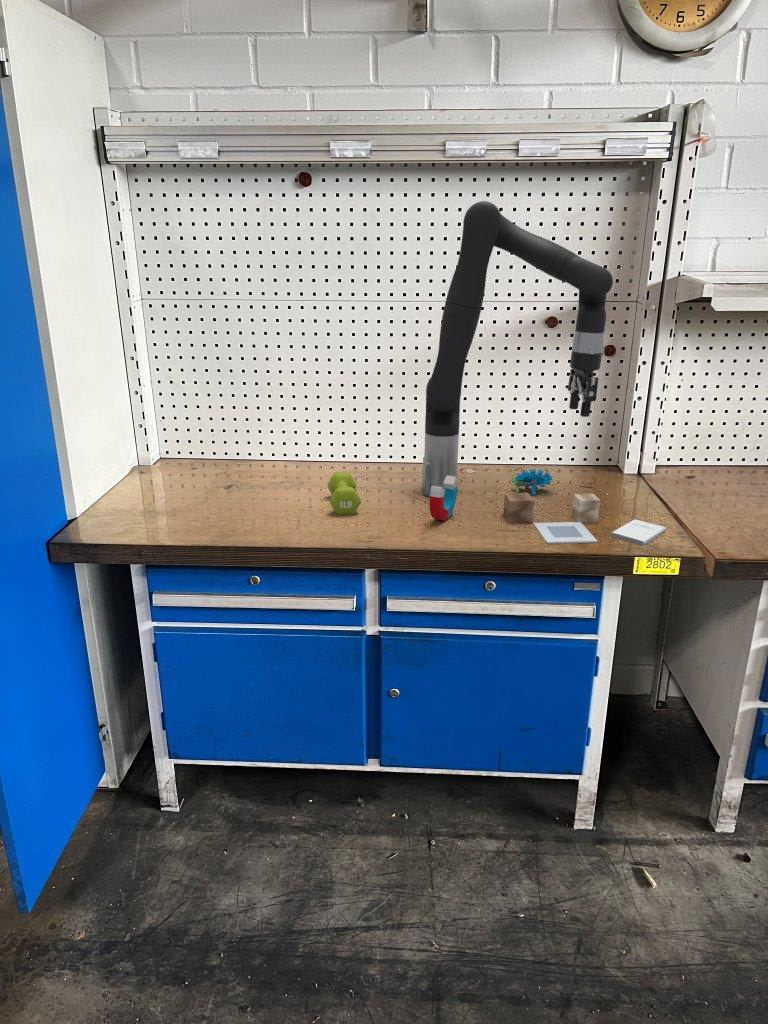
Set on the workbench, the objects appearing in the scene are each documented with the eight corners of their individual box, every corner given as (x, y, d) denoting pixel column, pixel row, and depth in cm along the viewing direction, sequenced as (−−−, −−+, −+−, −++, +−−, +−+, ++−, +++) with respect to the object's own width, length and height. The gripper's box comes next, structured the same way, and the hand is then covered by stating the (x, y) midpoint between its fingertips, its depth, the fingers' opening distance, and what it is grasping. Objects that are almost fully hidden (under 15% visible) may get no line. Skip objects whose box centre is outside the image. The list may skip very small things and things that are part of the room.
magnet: (446, 510, 181) (448, 474, 178) (456, 512, 180) (458, 475, 177) (428, 525, 172) (429, 487, 168) (438, 527, 170) (440, 488, 167)
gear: (553, 483, 198) (550, 466, 189) (553, 501, 195) (550, 485, 187) (514, 484, 201) (509, 468, 193) (513, 502, 199) (509, 487, 190)
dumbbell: (327, 496, 192) (326, 471, 189) (356, 495, 193) (356, 470, 190) (330, 517, 176) (329, 490, 174) (361, 516, 177) (361, 489, 175)
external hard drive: (610, 538, 166) (633, 524, 175) (643, 547, 161) (665, 533, 169) (611, 532, 165) (634, 518, 174) (644, 541, 160) (666, 526, 169)
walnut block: (508, 523, 173) (510, 501, 171) (503, 515, 179) (504, 493, 177) (532, 523, 173) (534, 500, 171) (526, 514, 179) (527, 492, 177)
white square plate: (546, 543, 161) (547, 541, 161) (533, 524, 172) (533, 522, 172) (597, 542, 162) (597, 541, 162) (580, 523, 173) (580, 522, 173)
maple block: (577, 523, 174) (580, 500, 172) (571, 515, 178) (574, 493, 176) (597, 522, 174) (600, 500, 172) (590, 515, 179) (593, 493, 177)
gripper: (563, 345, 183) (556, 406, 188) (582, 353, 169) (574, 418, 175) (591, 346, 183) (583, 407, 189) (612, 354, 170) (603, 419, 176)
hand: (578, 412), depth 182 cm, fingers open, 8 cm apart
